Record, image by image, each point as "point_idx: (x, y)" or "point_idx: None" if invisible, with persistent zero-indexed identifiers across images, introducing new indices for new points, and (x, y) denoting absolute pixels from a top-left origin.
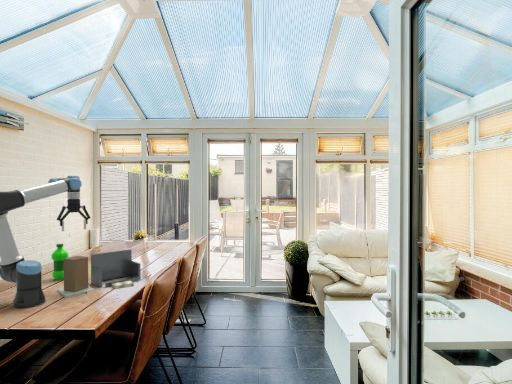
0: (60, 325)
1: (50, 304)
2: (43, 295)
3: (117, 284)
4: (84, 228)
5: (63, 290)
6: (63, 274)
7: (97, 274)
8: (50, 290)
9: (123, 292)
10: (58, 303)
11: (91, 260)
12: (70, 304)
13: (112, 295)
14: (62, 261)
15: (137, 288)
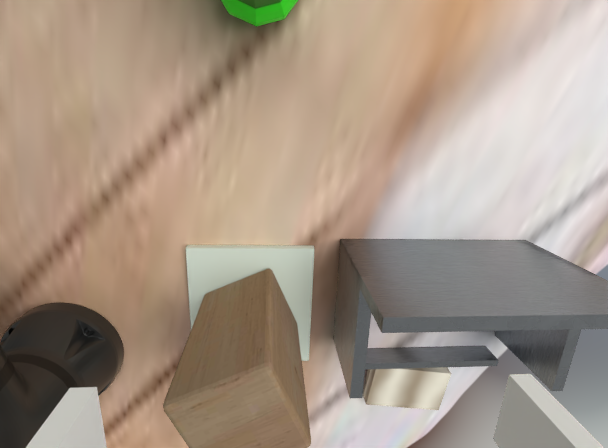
0: None
1: (134, 402)
2: (104, 387)
3: (386, 392)
4: (509, 426)
5: (203, 292)
6: (266, 22)
7: (346, 353)
8: (165, 214)
9: (372, 429)
10: (160, 408)
11: (370, 305)
12: None
13: (330, 436)
14: None
15: (430, 418)
